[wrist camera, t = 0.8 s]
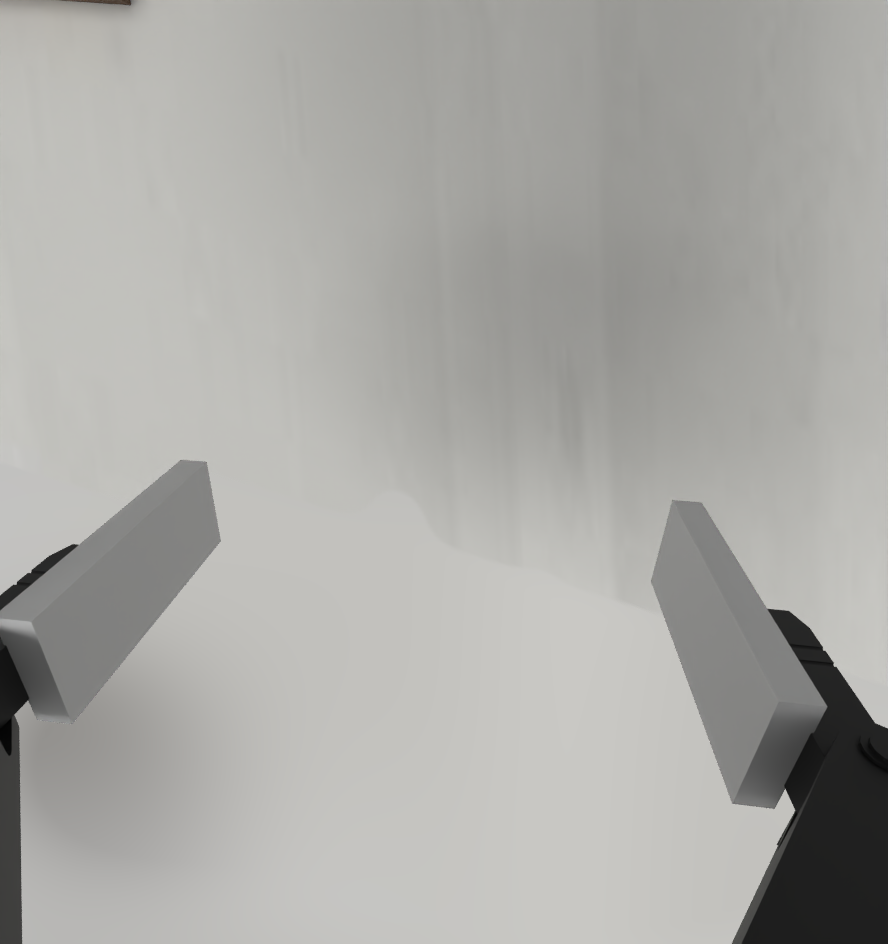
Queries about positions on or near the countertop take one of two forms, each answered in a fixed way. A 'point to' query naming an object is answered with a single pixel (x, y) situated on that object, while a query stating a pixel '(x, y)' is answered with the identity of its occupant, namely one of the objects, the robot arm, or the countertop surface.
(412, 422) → the countertop surface
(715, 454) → the countertop surface
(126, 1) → the socket block
